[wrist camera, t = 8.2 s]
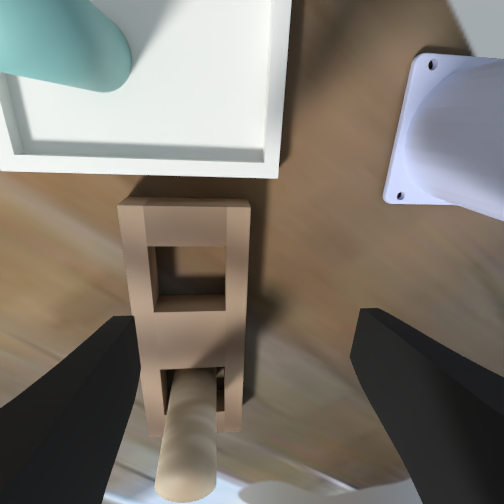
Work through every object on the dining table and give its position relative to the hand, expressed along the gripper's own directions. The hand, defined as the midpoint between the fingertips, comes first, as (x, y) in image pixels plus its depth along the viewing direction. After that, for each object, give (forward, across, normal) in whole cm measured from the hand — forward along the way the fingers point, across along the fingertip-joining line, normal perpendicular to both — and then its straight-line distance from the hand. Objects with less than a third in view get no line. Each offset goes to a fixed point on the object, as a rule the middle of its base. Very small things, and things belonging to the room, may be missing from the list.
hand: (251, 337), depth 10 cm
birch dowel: (+10, +3, +11) cm, 16 cm away
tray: (+10, +5, -9) cm, 15 cm away
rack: (+10, +3, +7) cm, 13 cm away
